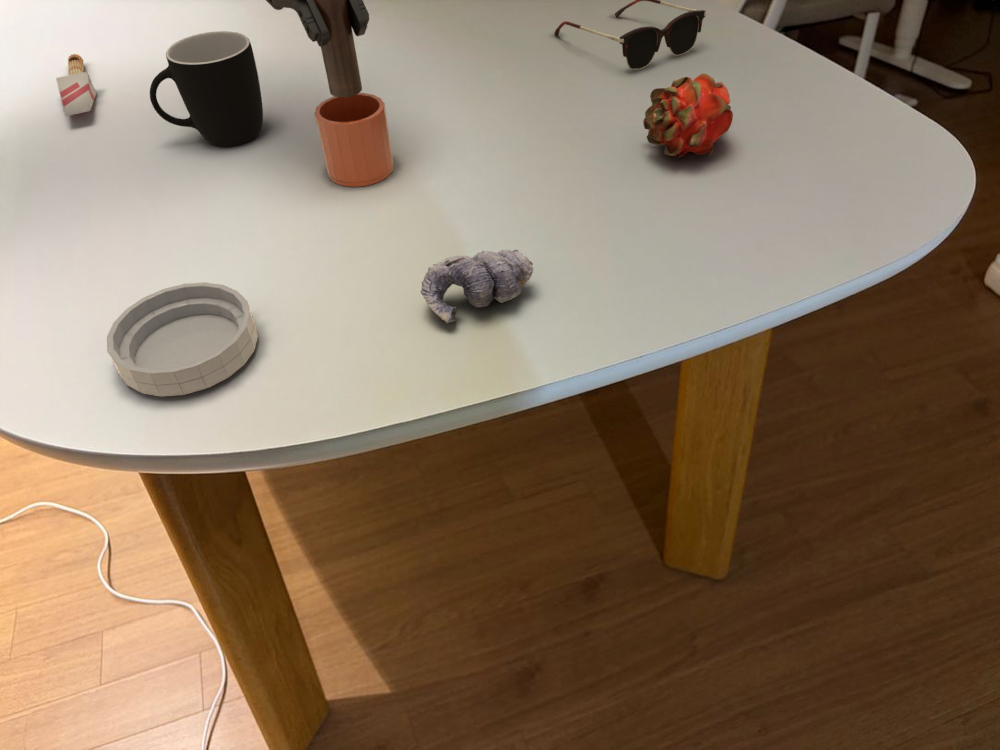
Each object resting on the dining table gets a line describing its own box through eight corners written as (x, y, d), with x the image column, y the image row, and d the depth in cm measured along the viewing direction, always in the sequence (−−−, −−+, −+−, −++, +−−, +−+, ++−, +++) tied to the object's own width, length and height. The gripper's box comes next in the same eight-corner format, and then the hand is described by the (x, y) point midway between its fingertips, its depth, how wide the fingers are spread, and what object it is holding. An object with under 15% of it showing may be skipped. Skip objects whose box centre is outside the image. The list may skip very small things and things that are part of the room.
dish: (103, 405, 62) (87, 377, 59) (141, 315, 69) (129, 287, 67) (246, 395, 62) (235, 367, 60) (268, 305, 70) (259, 278, 67)
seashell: (431, 335, 68) (533, 298, 71) (445, 318, 62) (554, 279, 66) (406, 278, 68) (509, 244, 71) (418, 256, 63) (528, 220, 66)
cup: (325, 189, 83) (310, 126, 78) (331, 155, 88) (318, 94, 84) (392, 184, 83) (382, 121, 78) (394, 151, 88) (385, 90, 84)
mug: (267, 110, 97) (244, 25, 90) (278, 142, 91) (255, 54, 84) (165, 130, 95) (134, 44, 88) (170, 165, 89) (136, 75, 82)
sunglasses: (621, 76, 99) (622, 35, 96) (546, 45, 110) (544, 7, 107) (703, 48, 104) (707, 7, 101) (624, 20, 115) (624, -17, 112)
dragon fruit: (647, 186, 84) (697, 153, 91) (717, 157, 77) (765, 125, 85) (614, 109, 82) (668, 83, 90) (683, 73, 76) (735, 48, 83)
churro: (54, 105, 94) (57, 52, 108) (64, 127, 96) (66, 73, 110) (89, 98, 95) (87, 47, 109) (98, 120, 96) (95, 67, 111)
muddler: (342, 100, 78) (321, -7, 71) (323, 91, 80) (301, -15, 73) (368, 89, 80) (350, -17, 73) (349, 80, 81) (330, -25, 74)
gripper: (187, -155, 67) (276, 35, 68) (339, -181, 73) (420, -4, 73) (188, -96, 74) (269, 75, 75) (327, -124, 79) (401, 37, 80)
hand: (343, 35), depth 74 cm, fingers closed on muddler, 3 cm apart
